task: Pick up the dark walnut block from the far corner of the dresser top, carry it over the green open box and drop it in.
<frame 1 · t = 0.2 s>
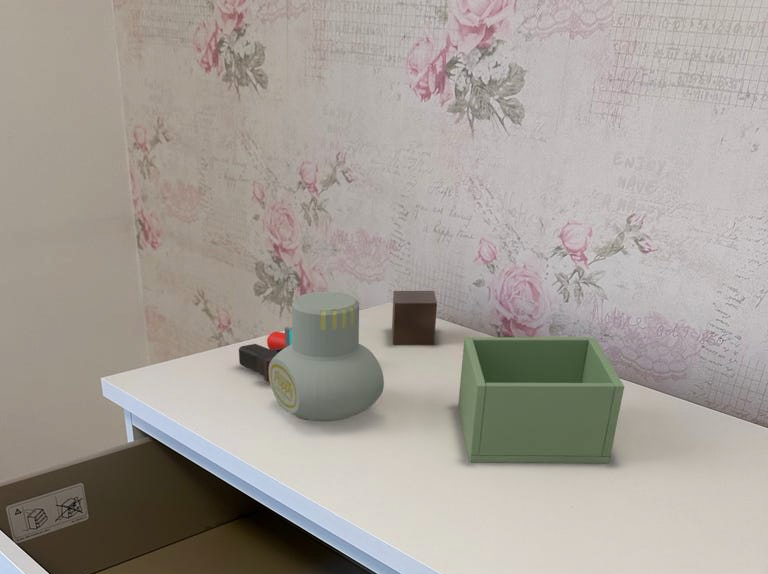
air freshener: (325, 412, 88), on the dresser
toy gun: (299, 365, 98), on the dresser
walnut block: (412, 337, 103), on the dresser
green open box: (529, 433, 83), on the dresser
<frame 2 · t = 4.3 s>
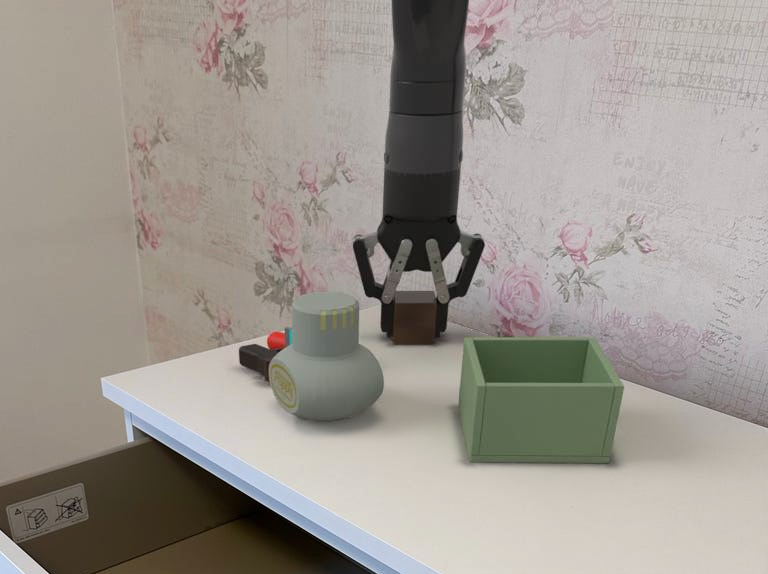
hand: (412, 334, 103), 0 cm above the dresser, tool pointing down, fingers closed on walnut block, 4 cm apart
walnut block: (412, 337, 103), on the dresser, touching gripper
everything else where it was.
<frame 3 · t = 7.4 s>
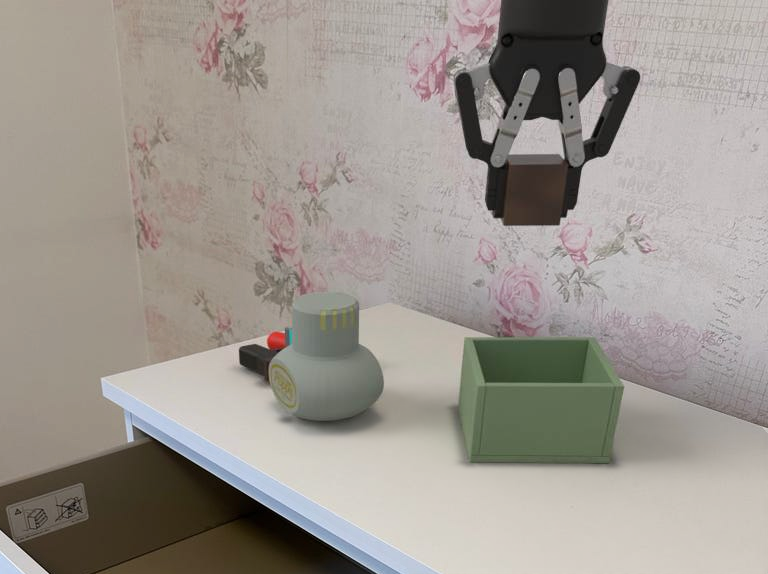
hand: (528, 215, 76), 17 cm above the dresser, tool pointing down, fingers closed on walnut block, 4 cm apart
walnut block: (528, 219, 76), point 17 cm above the dresser, touching gripper
everything else where it was.
when the fingers open (5 cm above the dresser, at t = 10.9 s): walnut block drops 4 cm, resting on green open box.
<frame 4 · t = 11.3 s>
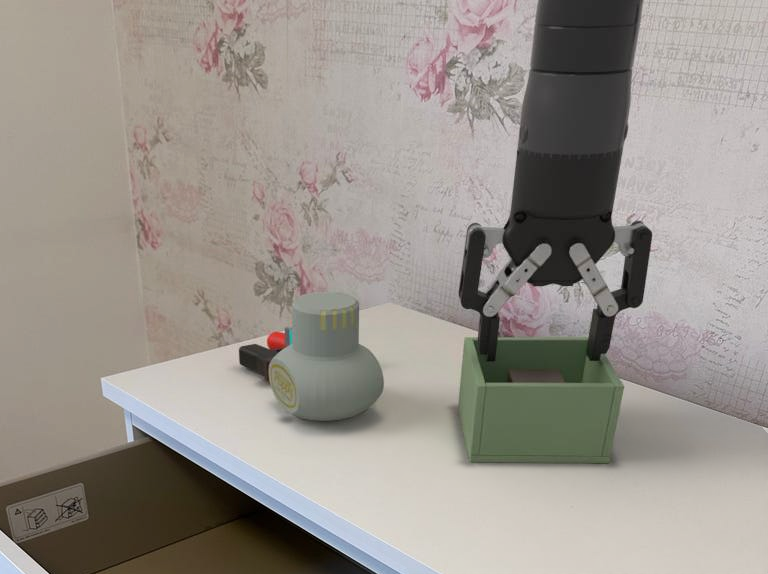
hand: (540, 358, 79), 7 cm above the dresser, tool pointing down, fingers open, 8 cm apart
walnut block: (530, 427, 82), point 1 cm above the dresser, touching green open box
everything else where it was.
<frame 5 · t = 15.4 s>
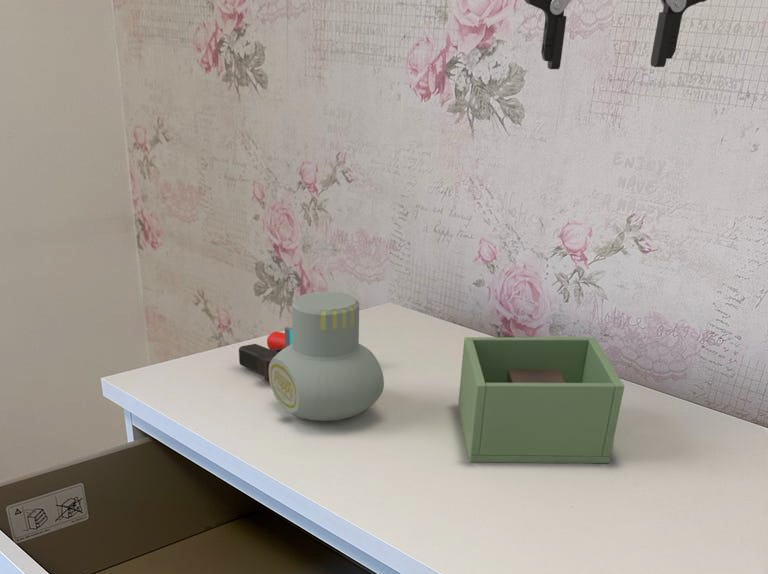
hand: (604, 67, 79), 26 cm above the dresser, tool pointing down, fingers open, 8 cm apart
nothing on the dresser moved.
at the end: walnut block inside the target area in the green open box (0.1 cm from its centre), point 0.6 cm above the green open box's base; the gripper is holding nothing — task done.
